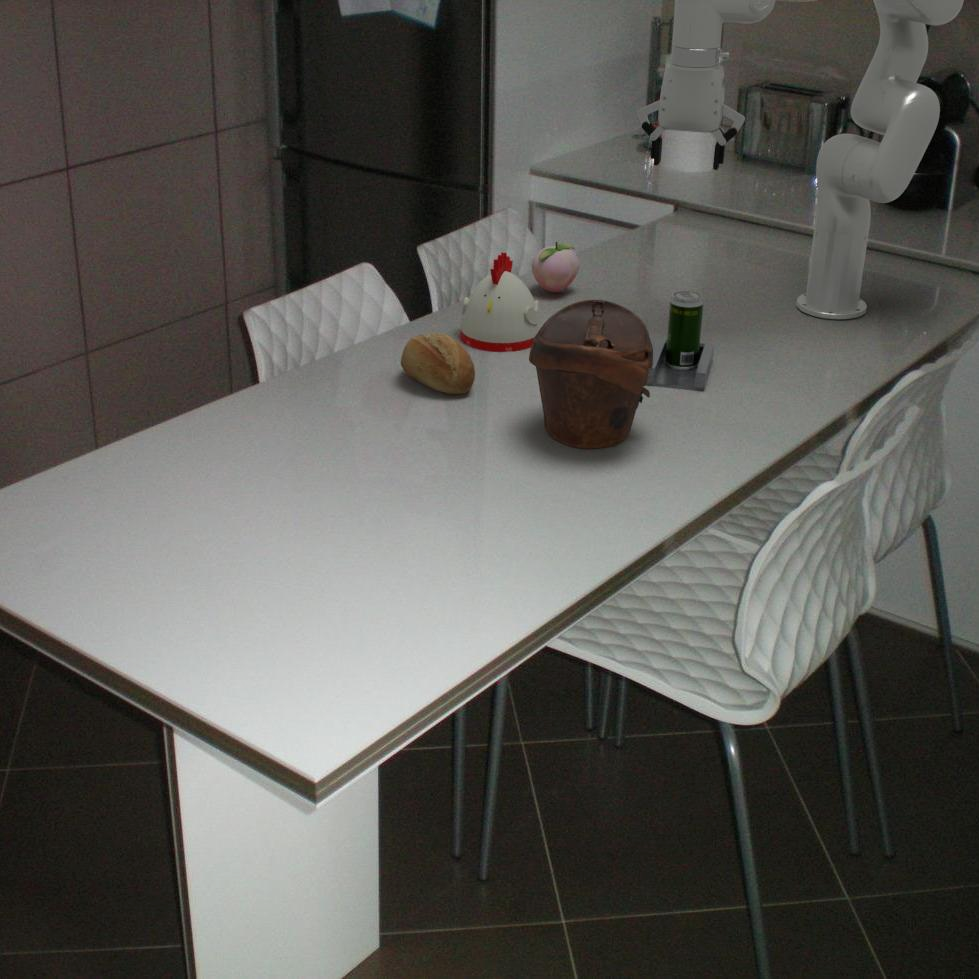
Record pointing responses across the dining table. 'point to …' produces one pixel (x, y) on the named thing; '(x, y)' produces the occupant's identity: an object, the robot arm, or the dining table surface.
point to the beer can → (684, 330)
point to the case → (591, 372)
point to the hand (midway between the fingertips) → (686, 165)
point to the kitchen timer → (500, 312)
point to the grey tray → (680, 378)
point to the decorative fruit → (555, 267)
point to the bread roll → (439, 363)
